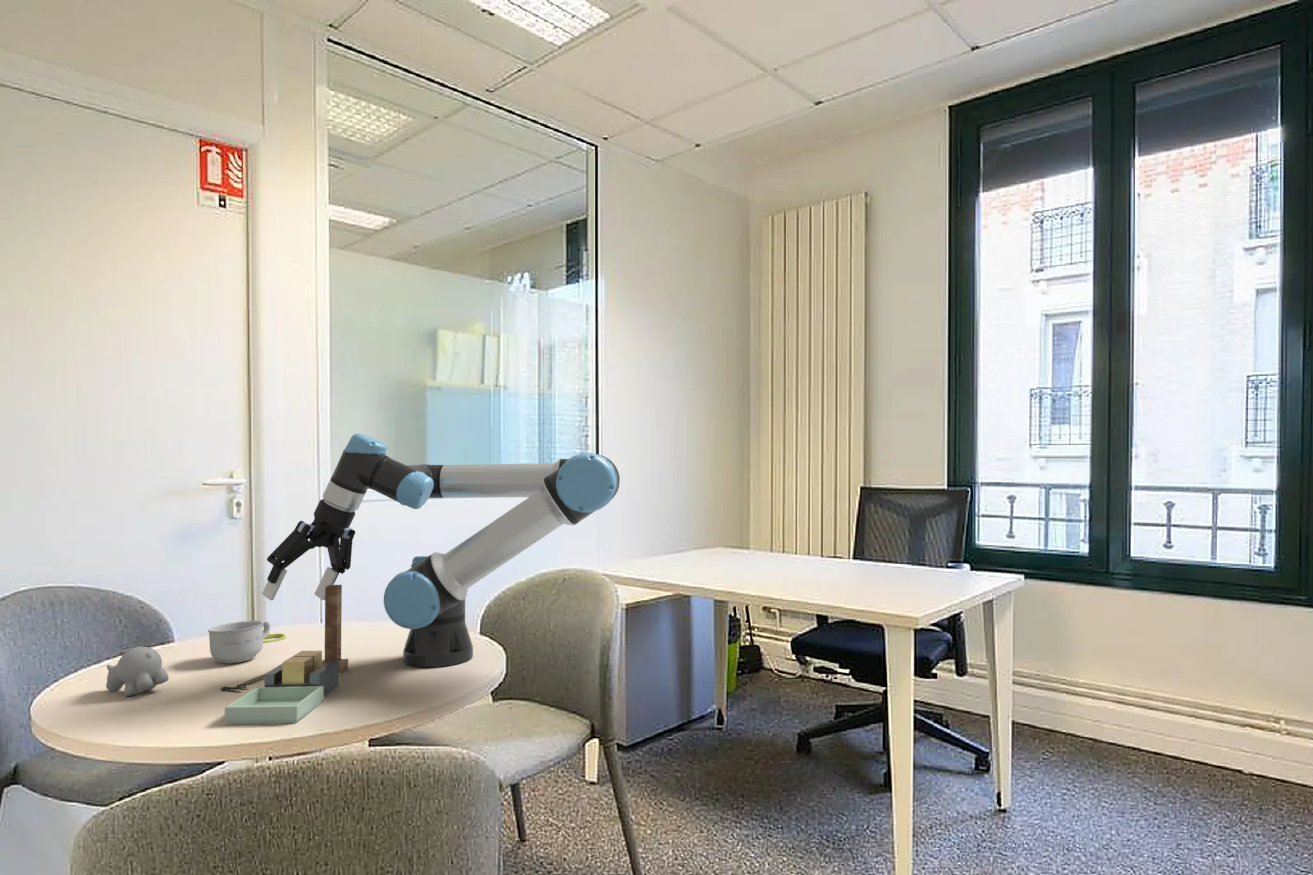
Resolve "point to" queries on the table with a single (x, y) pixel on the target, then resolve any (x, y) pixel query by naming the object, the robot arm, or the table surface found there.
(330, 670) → the graphite slot block
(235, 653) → the teacup
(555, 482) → the robot arm
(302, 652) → the rear bronze block
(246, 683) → the tactical tomahawk
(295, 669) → the front bronze block
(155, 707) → the table surface
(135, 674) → the toy rhinoceros
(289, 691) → the sage tray
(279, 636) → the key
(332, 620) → the walnut t-shaped block
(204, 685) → the table surface
